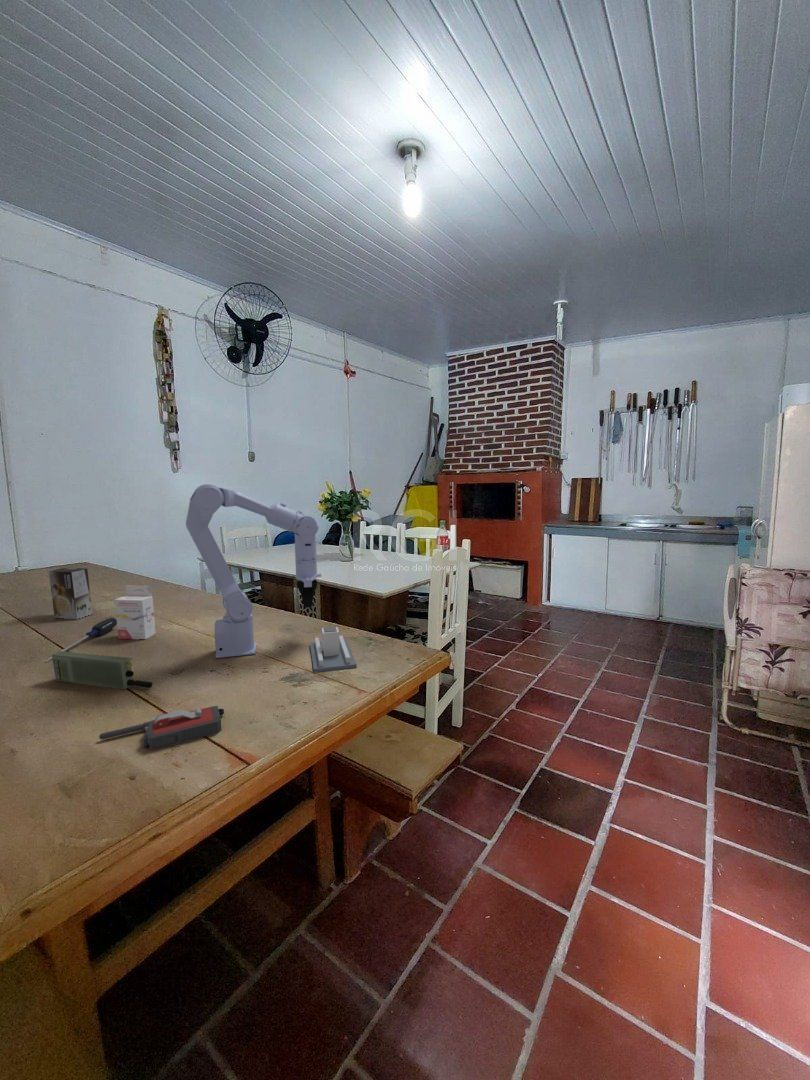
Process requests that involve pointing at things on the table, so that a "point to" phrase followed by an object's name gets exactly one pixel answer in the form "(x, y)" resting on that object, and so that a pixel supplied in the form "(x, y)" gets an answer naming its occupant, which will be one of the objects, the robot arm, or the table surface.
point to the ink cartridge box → (135, 613)
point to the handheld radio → (95, 670)
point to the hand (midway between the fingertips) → (307, 606)
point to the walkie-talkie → (175, 727)
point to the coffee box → (70, 593)
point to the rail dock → (332, 657)
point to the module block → (330, 641)
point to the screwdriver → (95, 631)
